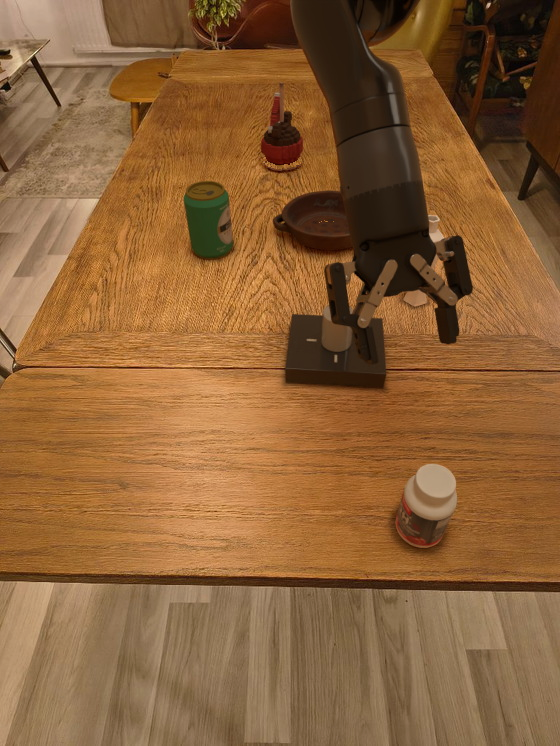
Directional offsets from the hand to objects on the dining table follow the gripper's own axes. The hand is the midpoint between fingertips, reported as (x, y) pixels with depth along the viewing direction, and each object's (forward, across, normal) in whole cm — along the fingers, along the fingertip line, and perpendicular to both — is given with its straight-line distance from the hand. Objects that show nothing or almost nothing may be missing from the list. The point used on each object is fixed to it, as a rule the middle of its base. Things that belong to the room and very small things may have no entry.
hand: (410, 353), depth 52 cm
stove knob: (+1, 0, +24) cm, 24 cm away
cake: (-36, +13, +80) cm, 88 cm away
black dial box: (+3, 0, +26) cm, 26 cm away
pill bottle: (+20, -1, +3) cm, 21 cm away
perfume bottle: (-1, +18, +33) cm, 38 cm away
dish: (-16, +12, +53) cm, 56 cm away
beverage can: (-18, -11, +54) cm, 58 cm away
